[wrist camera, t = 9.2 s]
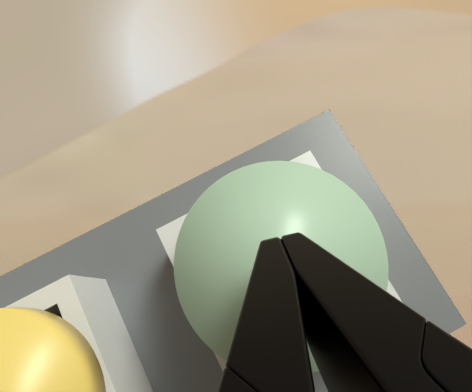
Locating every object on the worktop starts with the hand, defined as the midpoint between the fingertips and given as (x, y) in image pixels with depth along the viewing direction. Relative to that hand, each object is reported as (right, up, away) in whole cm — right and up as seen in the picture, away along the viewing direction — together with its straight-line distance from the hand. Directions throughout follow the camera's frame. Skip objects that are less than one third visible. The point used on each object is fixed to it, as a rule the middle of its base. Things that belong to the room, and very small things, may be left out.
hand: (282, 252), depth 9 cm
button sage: (0, -2, +6) cm, 6 cm away
